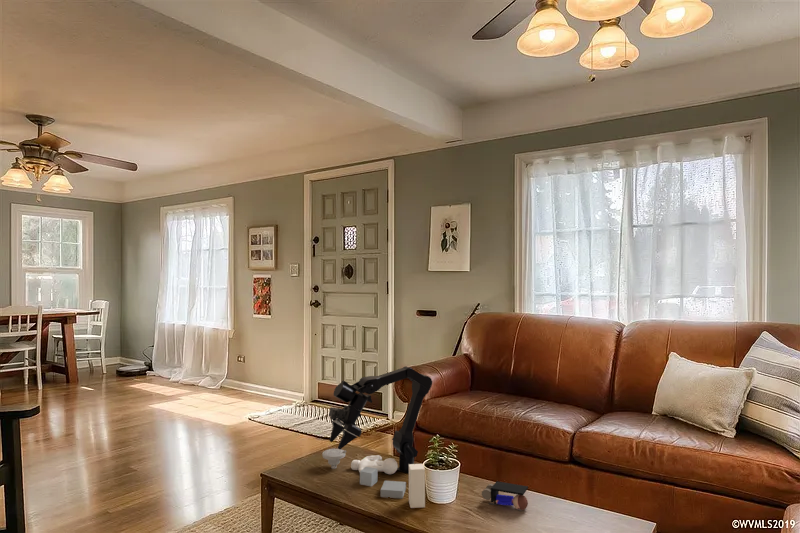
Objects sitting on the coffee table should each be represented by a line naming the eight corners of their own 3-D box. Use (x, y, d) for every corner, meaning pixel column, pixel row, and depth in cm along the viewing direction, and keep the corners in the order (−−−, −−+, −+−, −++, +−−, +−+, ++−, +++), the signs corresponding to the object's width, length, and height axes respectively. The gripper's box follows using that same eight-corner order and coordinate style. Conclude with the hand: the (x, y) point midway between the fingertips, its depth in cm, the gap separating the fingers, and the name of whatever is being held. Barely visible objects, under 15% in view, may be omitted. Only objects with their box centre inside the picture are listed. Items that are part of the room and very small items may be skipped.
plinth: (384, 488, 187) (384, 480, 187) (405, 490, 186) (405, 481, 186) (380, 497, 179) (380, 489, 179) (402, 499, 178) (402, 491, 178)
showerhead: (343, 454, 201) (319, 453, 203) (343, 472, 201) (319, 471, 203) (349, 446, 211) (326, 445, 212) (349, 464, 211) (326, 462, 212)
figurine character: (482, 509, 172) (525, 514, 165) (479, 486, 173) (522, 491, 166) (489, 501, 178) (531, 506, 171) (486, 479, 179) (528, 483, 171)
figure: (402, 463, 206) (357, 462, 212) (399, 450, 204) (355, 449, 210) (395, 483, 196) (348, 480, 201) (392, 469, 194) (345, 467, 200)
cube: (366, 479, 195) (366, 466, 195) (377, 481, 193) (377, 468, 193) (359, 484, 190) (359, 471, 190) (371, 486, 188) (371, 473, 188)
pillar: (408, 501, 176) (408, 464, 176) (422, 500, 176) (422, 463, 176) (410, 508, 171) (410, 469, 171) (424, 507, 171) (424, 469, 171)
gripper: (330, 393, 200) (310, 429, 196) (347, 404, 183) (325, 443, 179) (352, 405, 204) (332, 441, 200) (370, 417, 187) (350, 456, 183)
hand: (334, 445), depth 190 cm, fingers open, 9 cm apart
